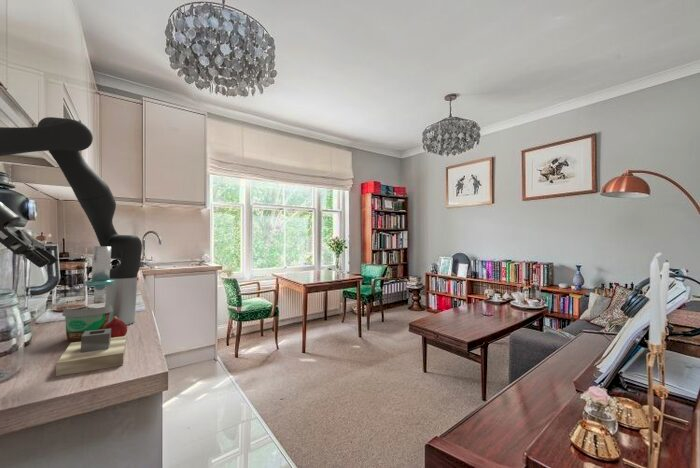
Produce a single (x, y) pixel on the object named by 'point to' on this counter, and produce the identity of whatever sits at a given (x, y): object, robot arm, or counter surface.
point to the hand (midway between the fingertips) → (50, 263)
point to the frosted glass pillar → (100, 272)
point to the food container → (85, 321)
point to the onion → (117, 328)
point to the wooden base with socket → (92, 353)
